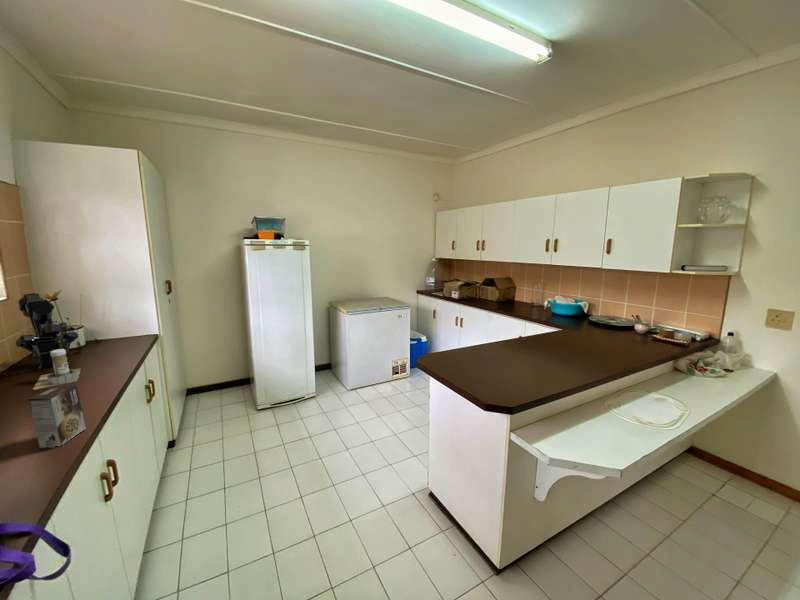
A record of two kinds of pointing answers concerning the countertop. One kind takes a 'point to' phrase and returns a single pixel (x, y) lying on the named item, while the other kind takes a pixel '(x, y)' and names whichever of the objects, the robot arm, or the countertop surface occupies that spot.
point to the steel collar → (62, 377)
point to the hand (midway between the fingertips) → (53, 355)
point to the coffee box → (57, 415)
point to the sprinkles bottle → (60, 362)
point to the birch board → (44, 381)
